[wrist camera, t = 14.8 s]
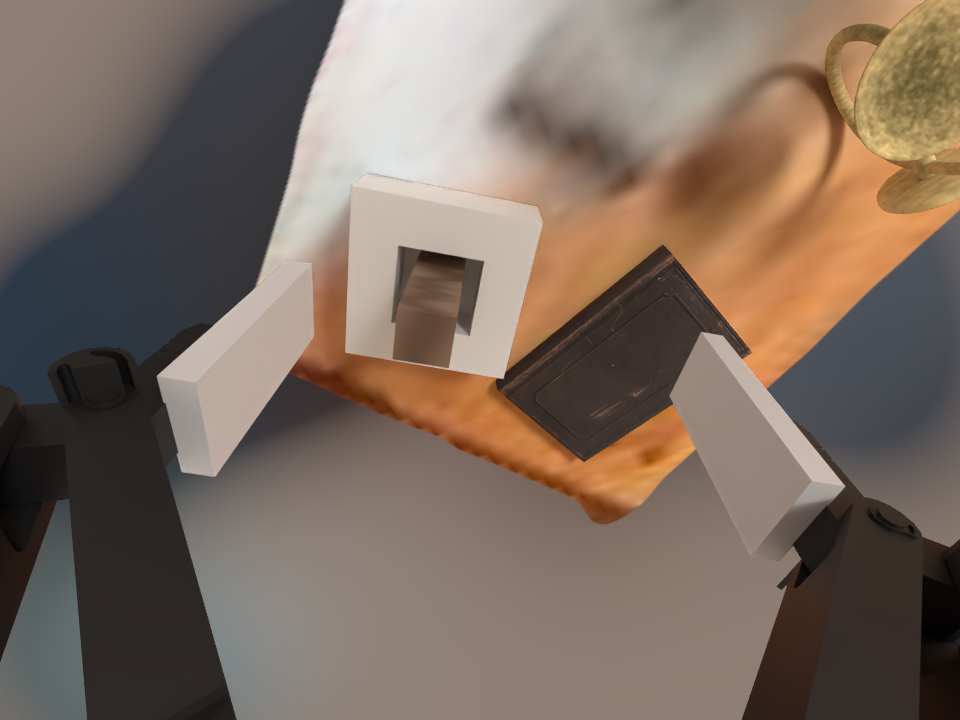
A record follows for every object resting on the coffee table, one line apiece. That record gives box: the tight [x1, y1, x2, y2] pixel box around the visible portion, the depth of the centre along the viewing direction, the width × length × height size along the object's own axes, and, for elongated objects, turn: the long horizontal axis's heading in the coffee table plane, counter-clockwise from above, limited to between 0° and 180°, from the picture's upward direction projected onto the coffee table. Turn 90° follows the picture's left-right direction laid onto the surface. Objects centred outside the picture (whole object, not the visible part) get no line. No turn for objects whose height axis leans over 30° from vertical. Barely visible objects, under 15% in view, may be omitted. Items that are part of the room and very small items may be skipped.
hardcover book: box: [496, 245, 752, 462], centre depth 52 cm, size 16×23×2 cm
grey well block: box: [345, 173, 543, 379], centre depth 44 cm, size 16×16×6 cm
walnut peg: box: [392, 250, 466, 368], centre depth 40 cm, size 4×4×14 cm
